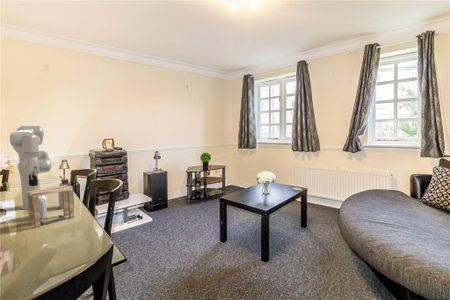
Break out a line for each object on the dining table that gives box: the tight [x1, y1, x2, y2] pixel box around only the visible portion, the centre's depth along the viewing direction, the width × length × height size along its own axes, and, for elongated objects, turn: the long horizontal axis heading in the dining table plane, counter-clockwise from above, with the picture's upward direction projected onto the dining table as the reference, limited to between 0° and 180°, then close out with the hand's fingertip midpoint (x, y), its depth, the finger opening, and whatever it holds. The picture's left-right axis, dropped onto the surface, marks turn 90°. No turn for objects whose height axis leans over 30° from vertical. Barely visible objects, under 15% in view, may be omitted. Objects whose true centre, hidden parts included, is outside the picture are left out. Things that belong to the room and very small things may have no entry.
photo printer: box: [38, 195, 48, 219], centre depth 139 cm, size 10×4×12 cm, turn 41°
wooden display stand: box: [27, 185, 75, 229], centre depth 130 cm, size 9×18×18 cm, turn 145°
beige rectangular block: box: [57, 178, 75, 210], centre depth 157 cm, size 7×7×18 cm
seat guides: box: [40, 214, 67, 226], centre depth 131 cm, size 8×11×2 cm
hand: (33, 185), depth 144 cm, fingers open, 2 cm apart
